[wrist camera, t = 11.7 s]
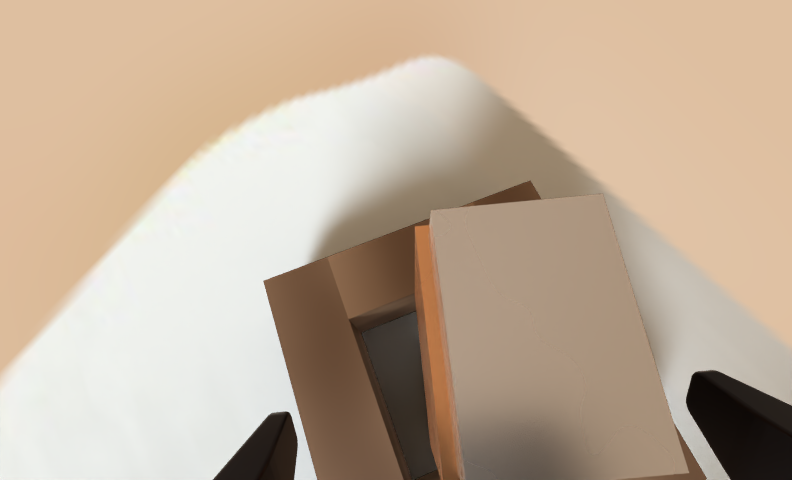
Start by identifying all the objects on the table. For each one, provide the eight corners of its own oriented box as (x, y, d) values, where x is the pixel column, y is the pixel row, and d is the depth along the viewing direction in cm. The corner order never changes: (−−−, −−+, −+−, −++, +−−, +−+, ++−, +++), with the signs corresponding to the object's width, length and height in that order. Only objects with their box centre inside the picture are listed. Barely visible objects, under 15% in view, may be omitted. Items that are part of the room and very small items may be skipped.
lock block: (374, 584, 14) (362, 642, 11) (291, 301, 18) (263, 280, 15) (643, 459, 15) (707, 478, 12) (510, 217, 19) (530, 180, 16)
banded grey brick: (493, 418, 16) (714, 492, 4) (424, 424, 16) (452, 516, 4) (478, 323, 17) (613, 179, 6) (414, 329, 17) (414, 198, 6)
